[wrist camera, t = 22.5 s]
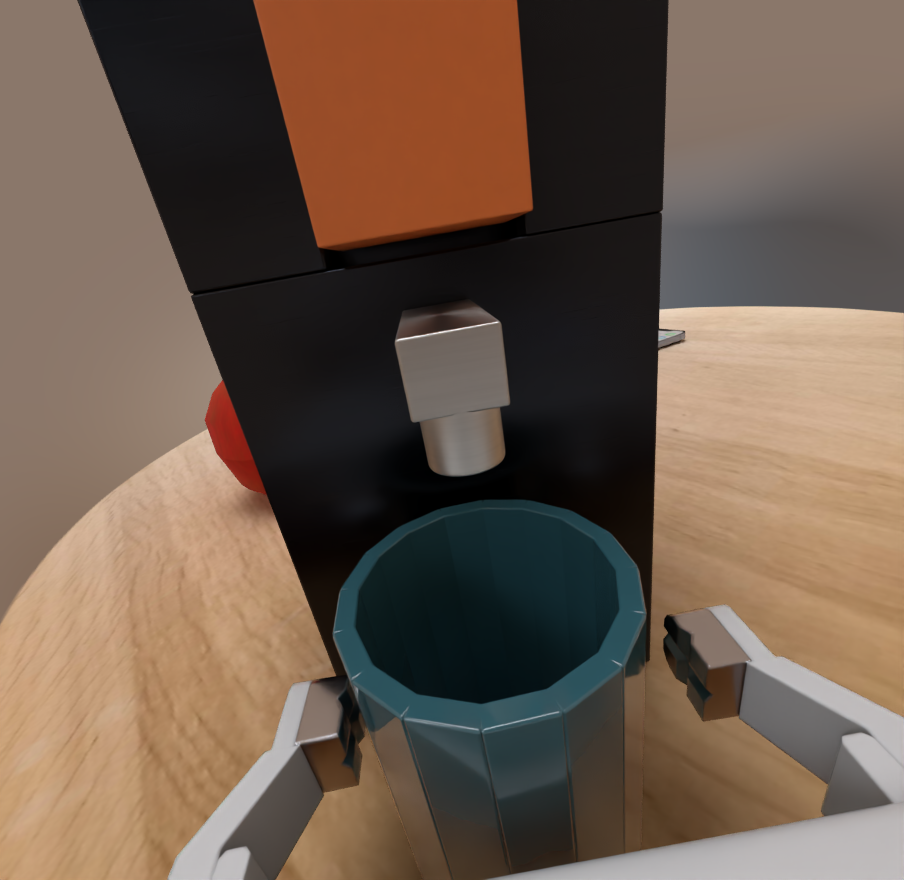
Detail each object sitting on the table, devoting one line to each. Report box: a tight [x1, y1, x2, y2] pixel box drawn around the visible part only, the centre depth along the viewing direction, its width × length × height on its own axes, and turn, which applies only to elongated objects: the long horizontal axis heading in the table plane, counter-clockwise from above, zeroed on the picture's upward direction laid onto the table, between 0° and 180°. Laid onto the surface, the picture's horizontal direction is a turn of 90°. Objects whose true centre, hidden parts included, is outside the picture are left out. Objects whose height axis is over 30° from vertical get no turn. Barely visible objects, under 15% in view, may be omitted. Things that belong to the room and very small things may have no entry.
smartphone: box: [658, 329, 685, 348], centre depth 59 cm, size 7×1×15 cm
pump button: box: [253, 0, 533, 251], centre depth 9 cm, size 3×4×5 cm
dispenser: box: [77, 0, 668, 676], centre depth 15 cm, size 14×12×24 cm
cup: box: [333, 500, 647, 880], centre depth 12 cm, size 7×7×9 cm
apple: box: [205, 380, 267, 495], centre depth 35 cm, size 10×10×12 cm
